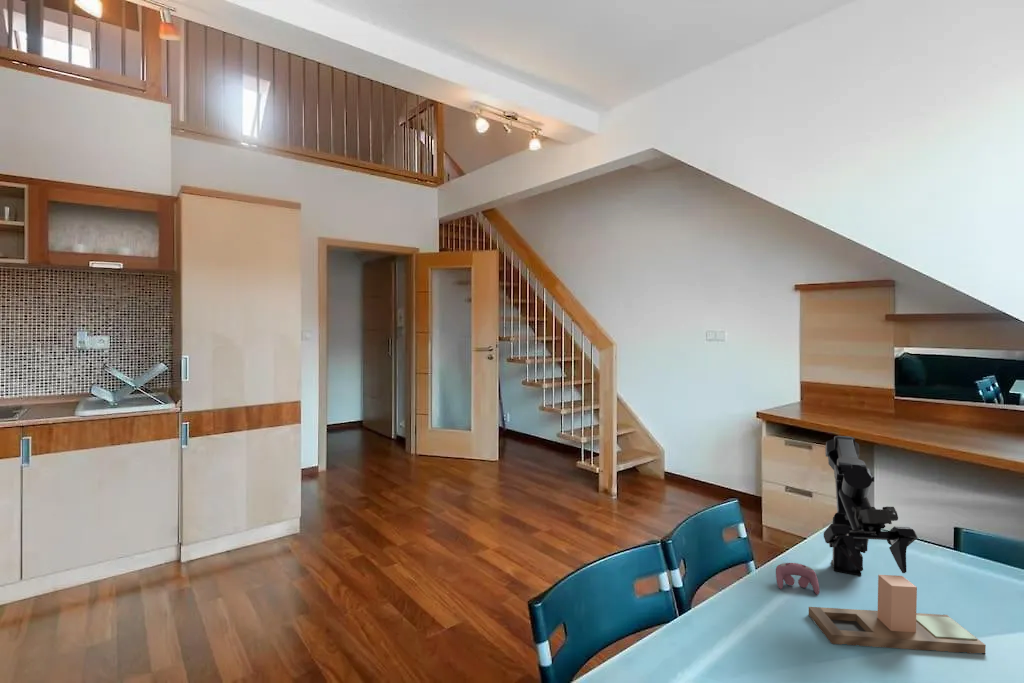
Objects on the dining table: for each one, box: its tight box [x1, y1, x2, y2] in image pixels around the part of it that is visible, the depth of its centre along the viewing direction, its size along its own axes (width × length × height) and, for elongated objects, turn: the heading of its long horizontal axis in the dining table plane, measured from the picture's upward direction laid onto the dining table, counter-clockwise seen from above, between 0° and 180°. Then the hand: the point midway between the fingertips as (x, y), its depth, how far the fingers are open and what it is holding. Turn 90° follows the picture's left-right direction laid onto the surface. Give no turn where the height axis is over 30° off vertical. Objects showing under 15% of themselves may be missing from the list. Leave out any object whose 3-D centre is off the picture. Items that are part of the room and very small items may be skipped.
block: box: [877, 574, 918, 632], centre depth 113 cm, size 5×5×10 cm
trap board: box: [808, 606, 986, 654], centre depth 113 cm, size 30×11×2 cm, turn 83°
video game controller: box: [775, 562, 820, 596], centre depth 133 cm, size 10×5×7 cm, turn 71°
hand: (883, 571), depth 118 cm, fingers open, 9 cm apart
